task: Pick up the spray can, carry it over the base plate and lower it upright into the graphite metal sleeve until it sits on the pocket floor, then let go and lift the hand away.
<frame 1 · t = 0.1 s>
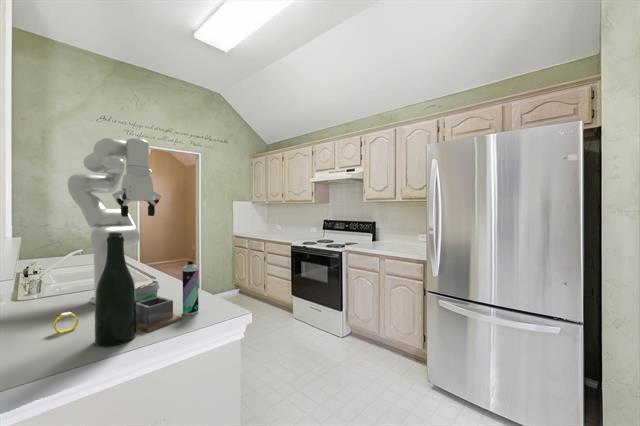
hand: (138, 216, 110), 37 cm above the table, tool pointing down, fingers open, 9 cm apart
spray can: (190, 312, 109), on the table
beer bottle: (116, 339, 87), on the table
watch: (66, 331, 92), on the table
food container: (148, 310, 111), on the table
can holder: (154, 321, 101), on the table
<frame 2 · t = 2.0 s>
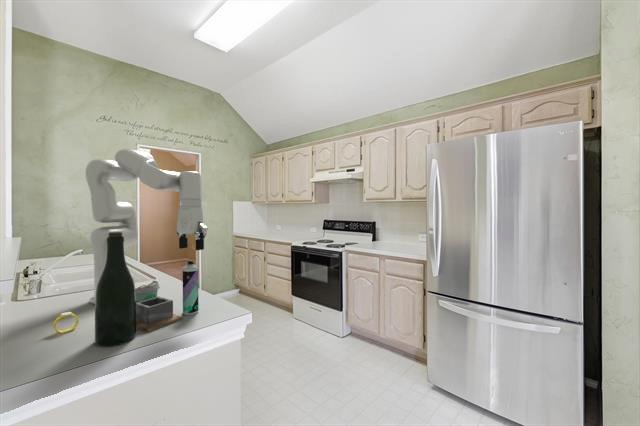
hand: (191, 248, 108), 25 cm above the table, tool pointing down, fingers open, 9 cm apart
nothing on the table moved.
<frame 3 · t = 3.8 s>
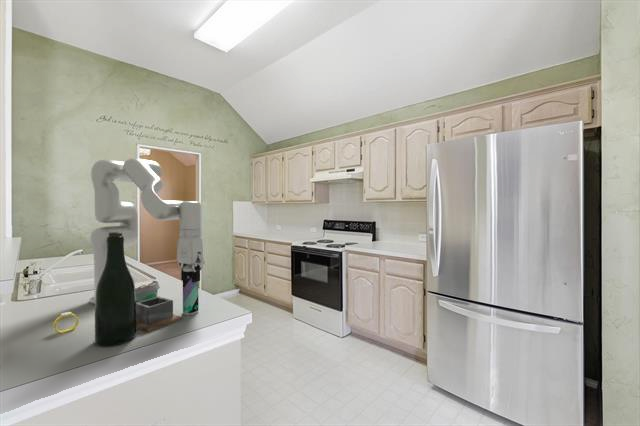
hand: (190, 280, 109), 13 cm above the table, tool pointing down, fingers closed on spray can, 5 cm apart
spray can: (190, 312, 109), on the table, touching gripper
everything else where it was.
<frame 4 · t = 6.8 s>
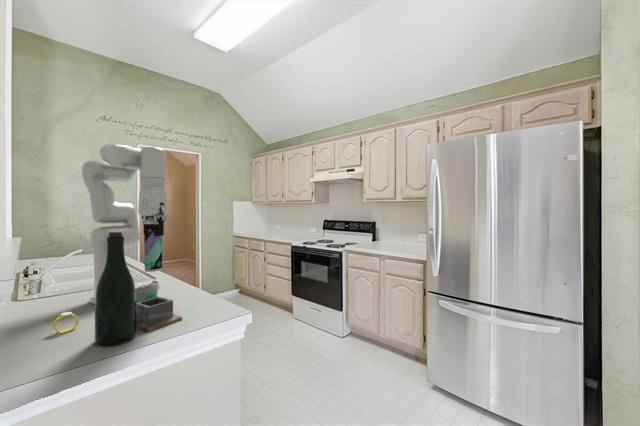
hand: (153, 234, 100), 31 cm above the table, tool pointing down, fingers closed on spray can, 5 cm apart
spray can: (153, 270, 100), point 18 cm above the table, touching gripper
everything else where it was.
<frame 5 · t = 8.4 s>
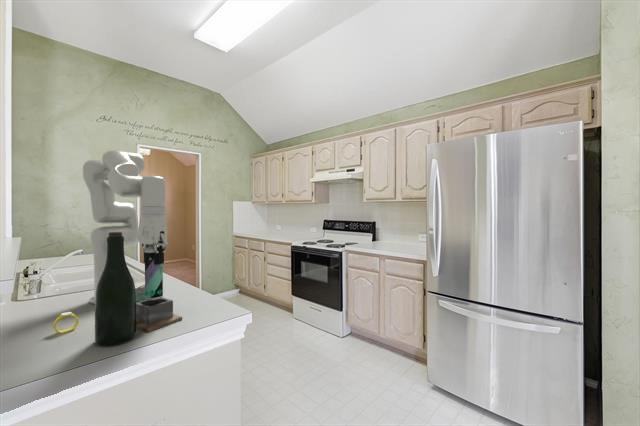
hand: (153, 262, 100), 21 cm above the table, tool pointing down, fingers closed on spray can, 5 cm apart
spray can: (154, 298, 100), point 8 cm above the table, touching gripper
everything else where it was.
when the fingers open (15 cm above the table, at t = 10.0 s): spray can drops 2 cm, resting on can holder.
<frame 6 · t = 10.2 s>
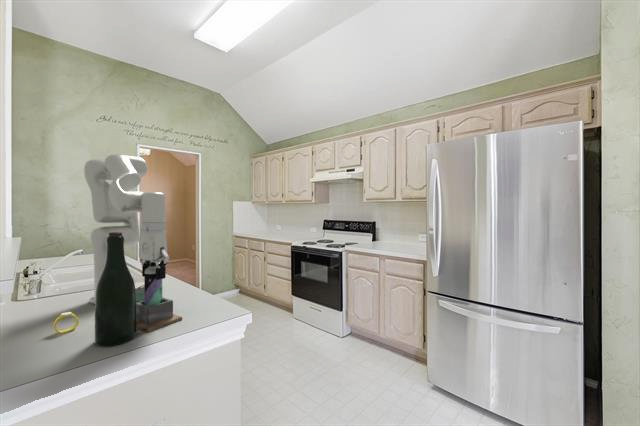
hand: (153, 277, 100), 16 cm above the table, tool pointing down, fingers open, 7 cm apart
spray can: (153, 318, 101), point 1 cm above the table, touching can holder
everything else where it was.
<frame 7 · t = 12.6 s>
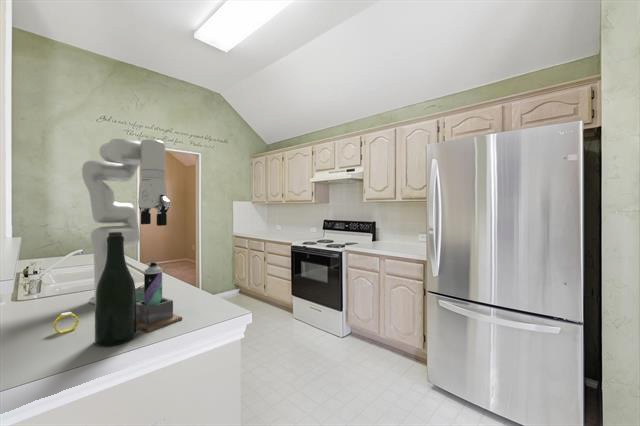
hand: (153, 224, 100), 34 cm above the table, tool pointing down, fingers open, 9 cm apart
nothing on the table moved.
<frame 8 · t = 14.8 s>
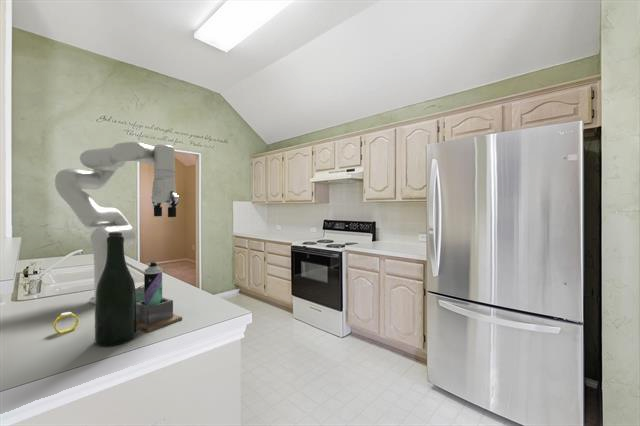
hand: (164, 216, 118), 36 cm above the table, tool pointing down, fingers open, 9 cm apart
nothing on the table moved.
at the end: spray can 0.3 cm off-centre on the can holder, point 0.8 cm above the can holder's base; spray can tilted 0°; the gripper is holding nothing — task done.
